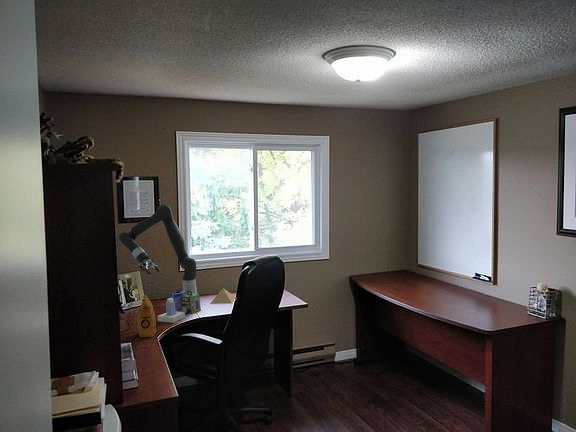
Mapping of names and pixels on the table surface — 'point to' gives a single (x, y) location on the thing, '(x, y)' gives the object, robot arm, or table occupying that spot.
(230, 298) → the model pyramid
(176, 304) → the ink cartridge box
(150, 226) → the robot arm
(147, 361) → the table surface
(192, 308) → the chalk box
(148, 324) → the coffee package
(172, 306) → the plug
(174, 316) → the port block
